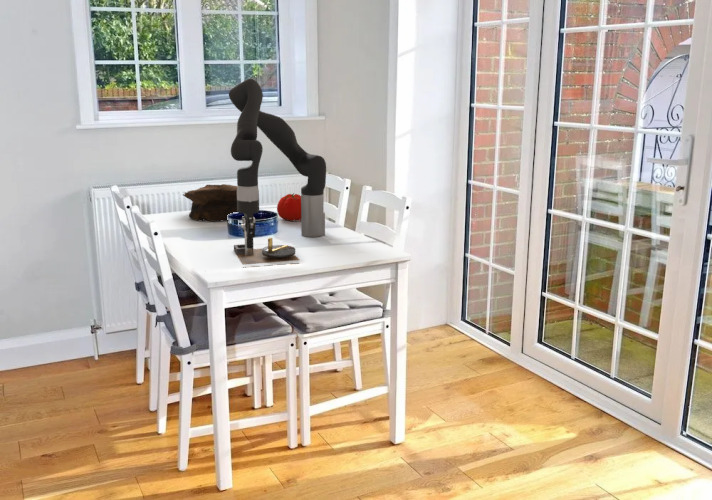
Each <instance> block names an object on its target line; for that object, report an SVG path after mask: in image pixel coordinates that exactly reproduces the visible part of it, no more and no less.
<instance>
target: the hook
mask: <svg viewBox="0 0 712 500" xmlns="http://www.w3.org/2000/svg"><path fill="white" fill-rule="evenodd" d="M240 226H241V229H243V228H244V224H243V223H241V224H240ZM256 227H257V225H256V226H255V228H256ZM247 229H248V228H247ZM249 234H252V232H250V233H249ZM244 244H245V255H246V256H252V255H253V249H254V247H253V248H250V249H248V248H247V238H246V231H245V235H244Z"/></svg>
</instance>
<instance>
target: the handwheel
mask: <svg viewBox="0 0 712 500" xmlns="http://www.w3.org/2000/svg"><path fill="white" fill-rule="evenodd" d="M261 249H262V255H264V256H267V257H274V258H281V257H289V256H293V255H296V248H295V247H294V246H291V245H286V244H285V245H283V244H281V245H280V244H279V245H278V244H275V245H273V237H268V238H267V246H264V247H261Z"/></svg>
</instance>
